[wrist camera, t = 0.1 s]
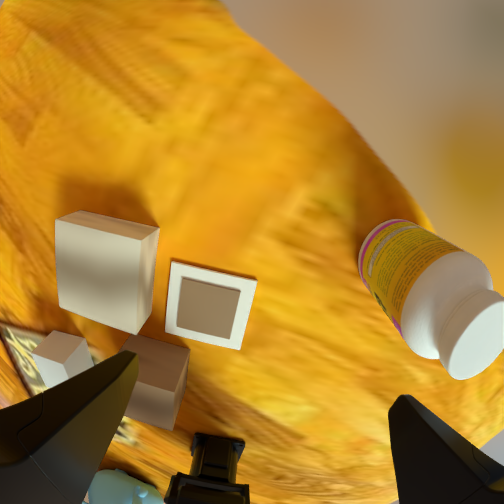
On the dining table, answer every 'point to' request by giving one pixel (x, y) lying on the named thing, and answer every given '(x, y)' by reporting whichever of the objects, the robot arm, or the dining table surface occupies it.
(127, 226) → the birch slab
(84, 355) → the grey cube
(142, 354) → the walnut cube
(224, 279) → the walnut card
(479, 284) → the supplement bottle
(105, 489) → the decorative pot
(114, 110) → the dining table surface
